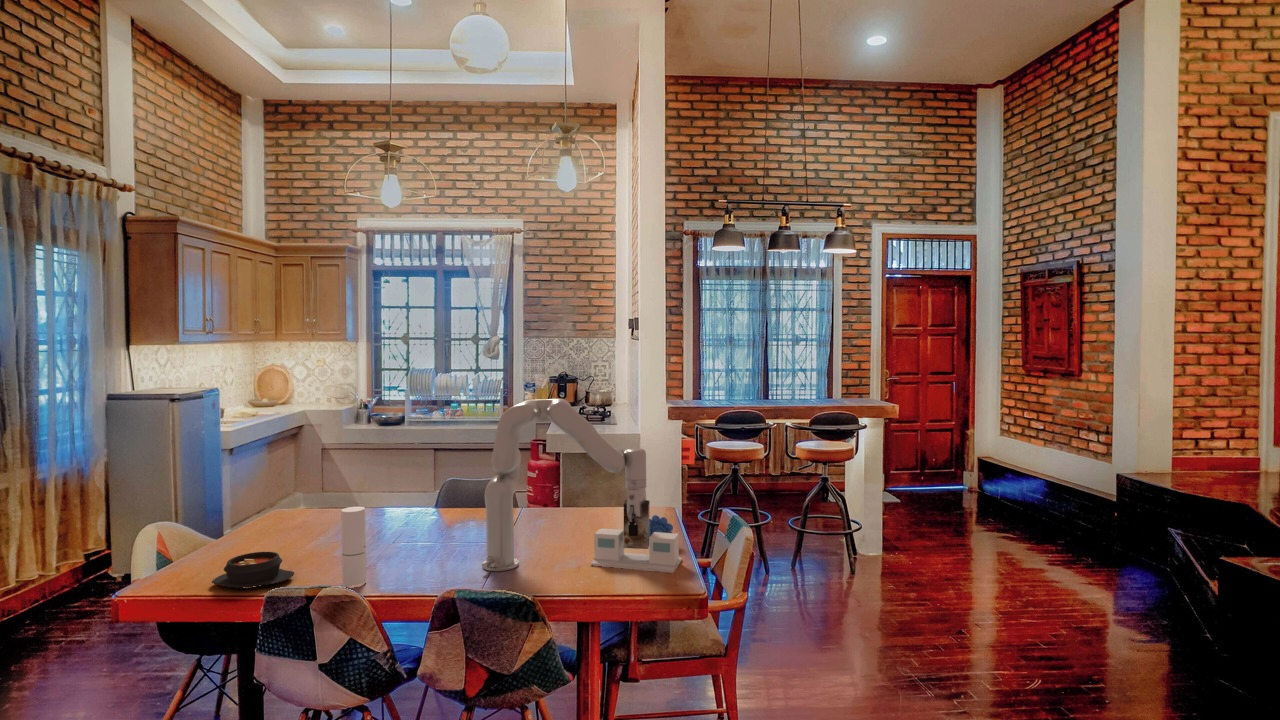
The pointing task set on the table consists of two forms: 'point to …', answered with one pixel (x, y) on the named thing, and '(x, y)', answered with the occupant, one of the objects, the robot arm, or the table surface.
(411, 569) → the table surface
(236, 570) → the casserole
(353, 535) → the cylindrical container
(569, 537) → the table surface
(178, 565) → the table surface
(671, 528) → the grapes
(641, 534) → the coffee box
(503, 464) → the robot arm
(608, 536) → the rail board
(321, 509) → the table surface
